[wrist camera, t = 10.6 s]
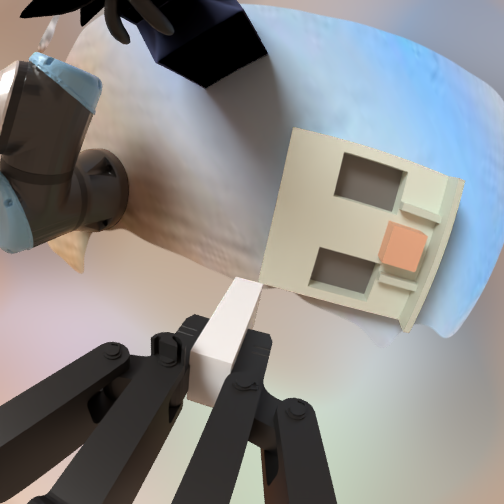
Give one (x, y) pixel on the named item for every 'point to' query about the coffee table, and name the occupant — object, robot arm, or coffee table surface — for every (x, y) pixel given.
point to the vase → (175, 32)
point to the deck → (356, 225)
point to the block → (402, 246)
